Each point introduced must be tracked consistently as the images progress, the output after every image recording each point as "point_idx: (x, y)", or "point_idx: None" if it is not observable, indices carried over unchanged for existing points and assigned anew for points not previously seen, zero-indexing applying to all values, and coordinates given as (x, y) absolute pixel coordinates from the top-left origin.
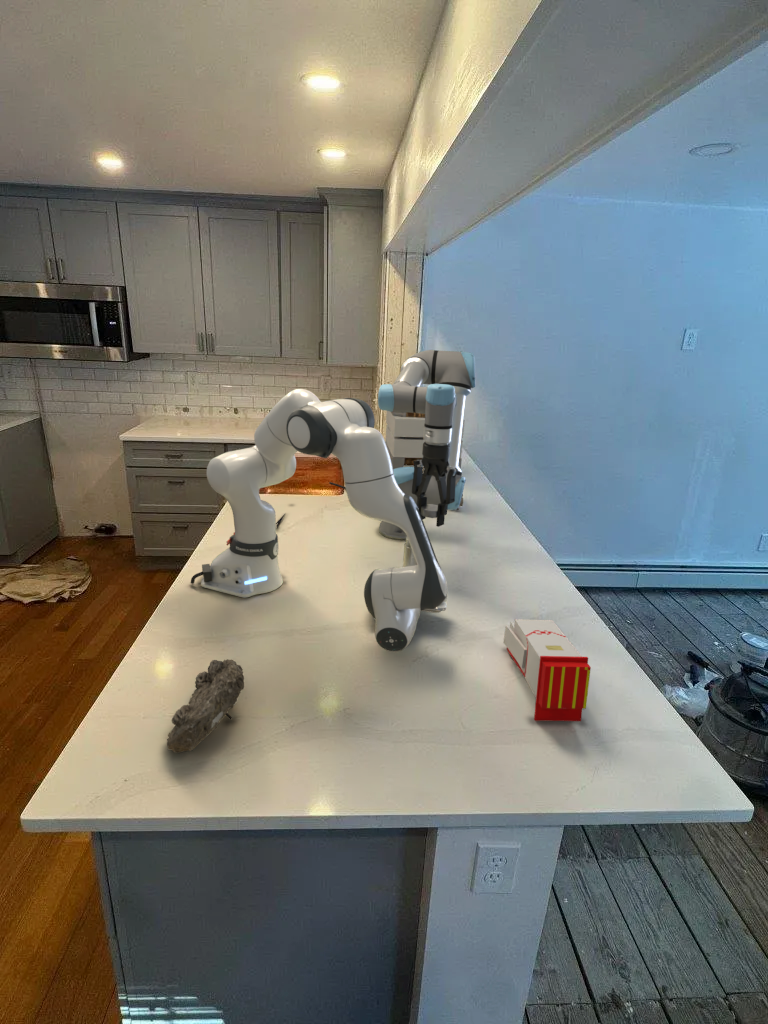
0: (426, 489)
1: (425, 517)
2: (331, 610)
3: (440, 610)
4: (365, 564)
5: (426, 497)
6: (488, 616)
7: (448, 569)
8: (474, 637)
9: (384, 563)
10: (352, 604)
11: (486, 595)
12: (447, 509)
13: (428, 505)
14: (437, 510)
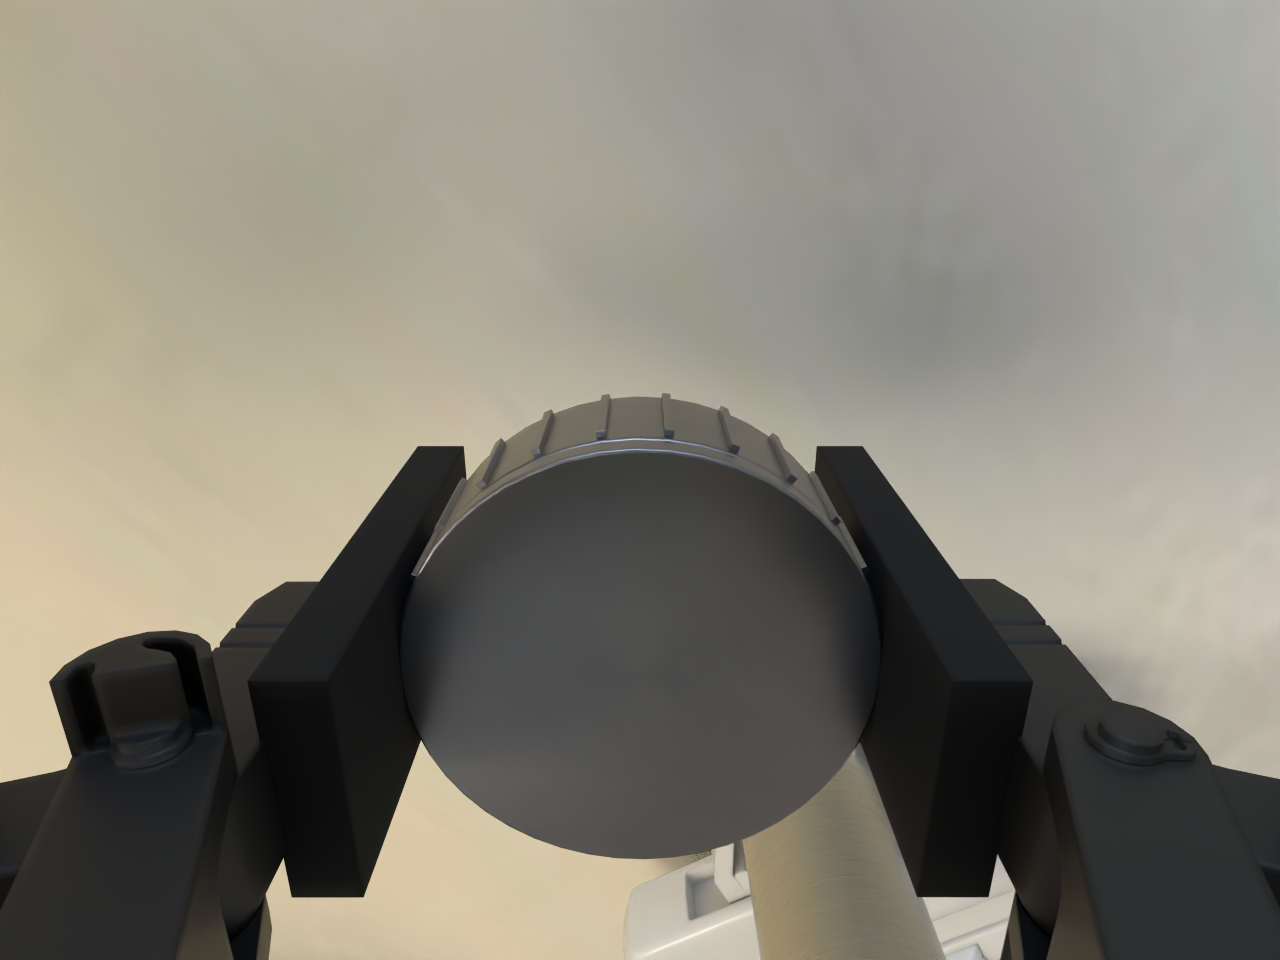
0: (193, 928)
1: (458, 452)
2: (515, 954)
3: None
4: (149, 463)
5: (329, 699)
6: (1266, 468)
7: (670, 6)
8: (1257, 703)
9: (218, 342)
10: (542, 864)
11: (1160, 209)
12: (1067, 648)
13: (496, 626)
14: (849, 739)
